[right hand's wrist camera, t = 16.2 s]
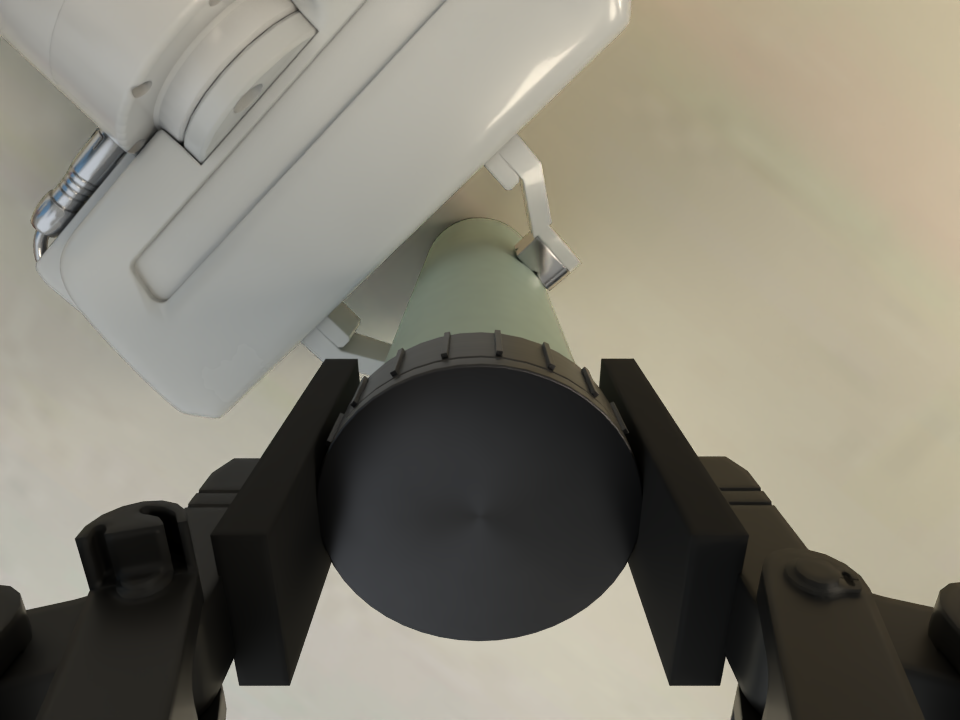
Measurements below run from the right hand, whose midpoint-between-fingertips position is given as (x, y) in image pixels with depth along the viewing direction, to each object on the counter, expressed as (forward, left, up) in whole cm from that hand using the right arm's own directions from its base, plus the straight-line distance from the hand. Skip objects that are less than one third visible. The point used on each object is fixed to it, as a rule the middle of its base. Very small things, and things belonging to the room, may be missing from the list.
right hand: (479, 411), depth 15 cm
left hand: (-1, +1, -8) cm, 8 cm away
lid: (0, 0, +4) cm, 4 cm away
